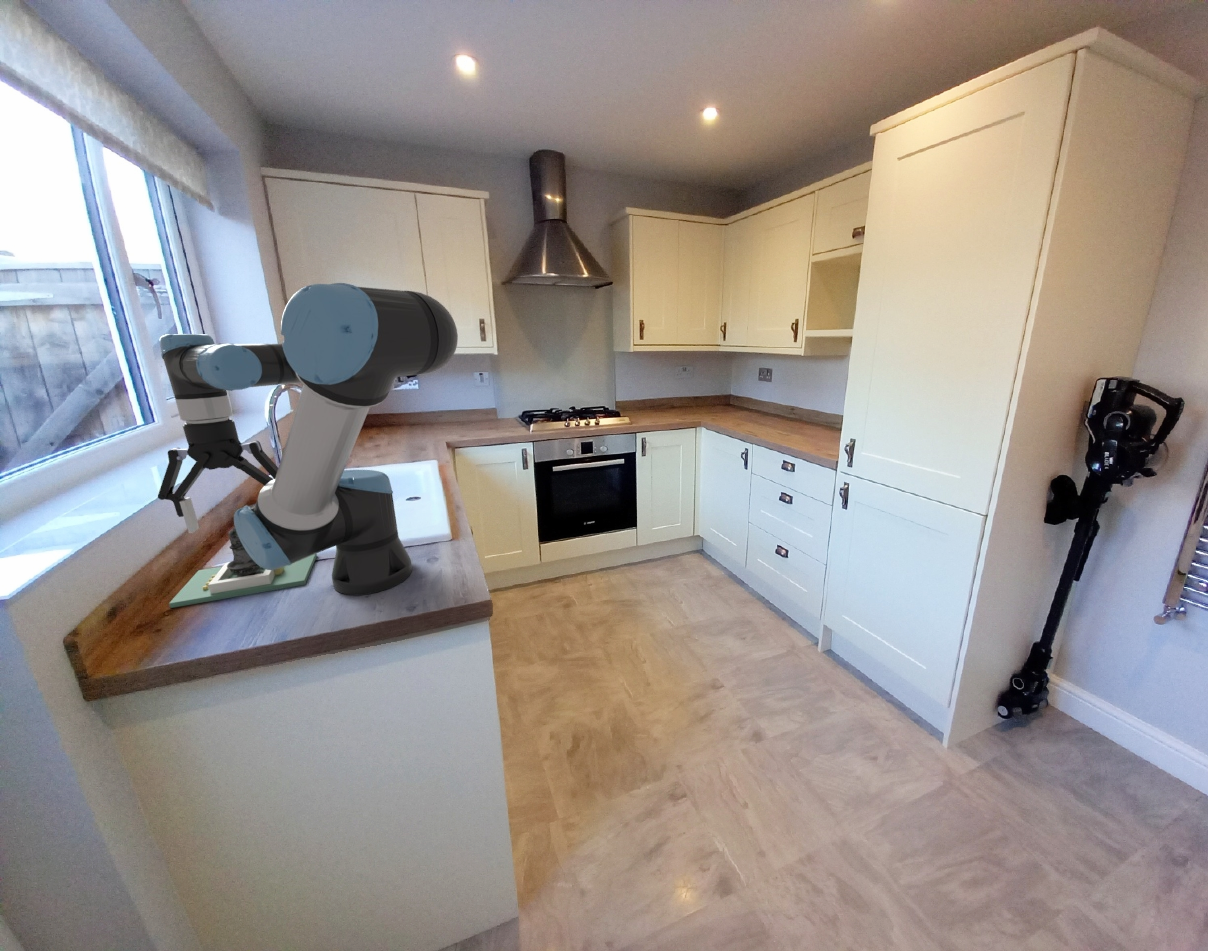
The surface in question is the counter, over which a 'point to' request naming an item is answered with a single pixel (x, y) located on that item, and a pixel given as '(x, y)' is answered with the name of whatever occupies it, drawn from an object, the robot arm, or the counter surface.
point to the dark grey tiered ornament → (241, 558)
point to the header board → (240, 582)
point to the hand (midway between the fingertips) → (236, 525)
